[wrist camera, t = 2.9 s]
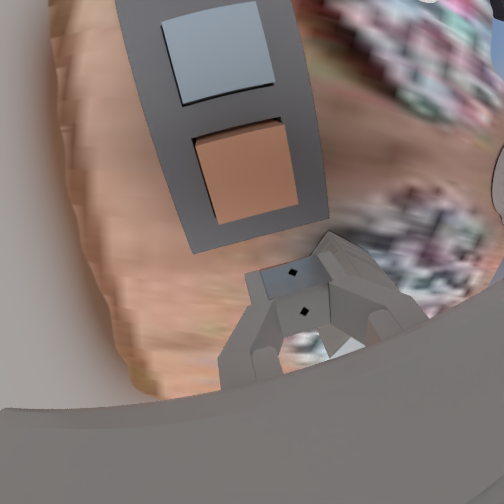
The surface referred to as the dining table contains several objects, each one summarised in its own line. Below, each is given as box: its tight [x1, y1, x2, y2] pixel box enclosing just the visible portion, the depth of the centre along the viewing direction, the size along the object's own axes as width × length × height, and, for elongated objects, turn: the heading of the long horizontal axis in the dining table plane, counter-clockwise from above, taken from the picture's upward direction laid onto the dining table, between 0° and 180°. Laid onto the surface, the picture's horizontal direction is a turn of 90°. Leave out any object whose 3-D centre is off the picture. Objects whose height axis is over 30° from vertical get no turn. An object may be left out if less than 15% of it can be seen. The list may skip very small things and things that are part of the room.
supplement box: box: [310, 231, 400, 359], centre depth 30 cm, size 7×7×13 cm
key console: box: [115, 0, 329, 254], centre depth 19 cm, size 12×30×6 cm, turn 12°
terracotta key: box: [195, 118, 298, 225], centre depth 21 cm, size 6×6×4 cm
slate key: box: [161, 1, 275, 104], centre depth 17 cm, size 6×6×4 cm
